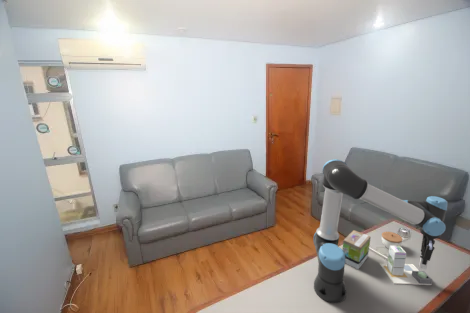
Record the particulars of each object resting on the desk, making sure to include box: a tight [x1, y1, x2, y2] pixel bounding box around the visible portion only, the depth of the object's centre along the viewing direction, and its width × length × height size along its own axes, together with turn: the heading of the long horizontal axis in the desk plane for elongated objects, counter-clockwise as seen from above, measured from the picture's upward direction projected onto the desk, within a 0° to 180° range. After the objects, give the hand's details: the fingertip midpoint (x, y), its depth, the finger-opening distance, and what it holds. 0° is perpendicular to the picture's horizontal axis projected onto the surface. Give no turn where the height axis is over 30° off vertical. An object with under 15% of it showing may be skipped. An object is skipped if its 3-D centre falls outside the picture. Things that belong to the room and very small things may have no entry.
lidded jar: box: [381, 231, 403, 250], centre depth 140 cm, size 11×11×9 cm
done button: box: [417, 271, 428, 278], centre depth 115 cm, size 4×4×3 cm
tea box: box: [341, 229, 371, 270], centre depth 130 cm, size 15×10×15 cm, turn 131°
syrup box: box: [386, 245, 407, 276], centre depth 119 cm, size 6×6×14 cm
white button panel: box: [379, 263, 433, 286], centre depth 119 cm, size 18×14×3 cm
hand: (422, 267), depth 113 cm, fingers closed
